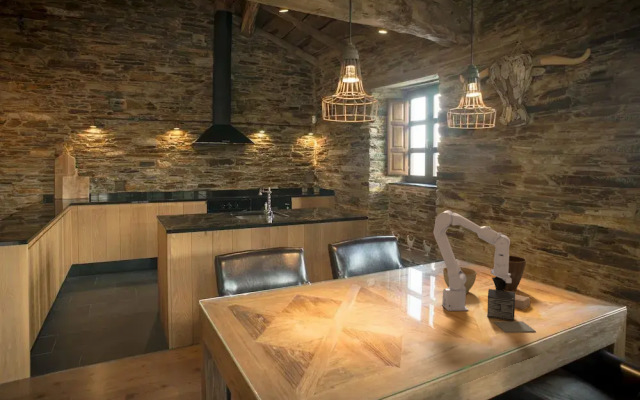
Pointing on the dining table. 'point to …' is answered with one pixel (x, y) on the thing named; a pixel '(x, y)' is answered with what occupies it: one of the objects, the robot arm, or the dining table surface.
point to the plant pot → (515, 271)
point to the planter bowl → (469, 275)
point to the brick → (521, 301)
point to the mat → (514, 326)
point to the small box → (501, 304)
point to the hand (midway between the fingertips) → (499, 294)
